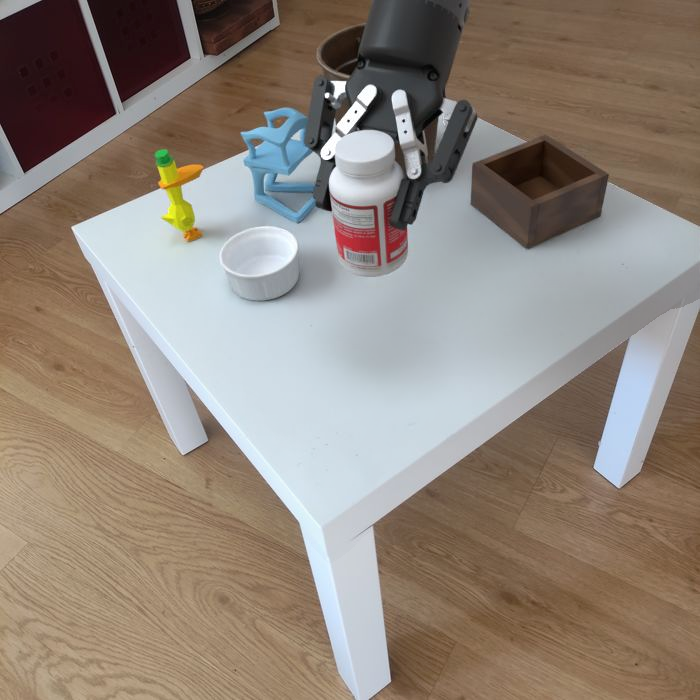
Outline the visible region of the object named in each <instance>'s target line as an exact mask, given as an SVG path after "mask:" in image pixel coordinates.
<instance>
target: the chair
mask: <svg viewBox="0 0 700 700" xmlns="http://www.w3.org/2000/svg"><path fill="white" fill-rule="evenodd" d="M263 114H264V117H265V119H266V121H267V126H259V127H256V128H254V129H251V130H249V131H241V132H240V136H241V137H242V140H243V141H244V143H245V144H246V146H247V149H248V155H246V156H245V158H244V159H243V164H244V167H247V168H248V169H249V170H250V172H251V175H252V182H253V192H254V201H257V202H258V203H259V202H260V203H261V204H263V205H265V206H266V207H268V208H269V209H271V210H274V211H275V212H277V213H278V214H280V215H281V216H283V217H285V218H286V219H288V220H290V221H292V222H294V223H301V222H302V221H303V220H304V219H305V217H307V216H308V215H309V213H310V212H311V211H312V210H313V209H314V208H315V207H316V204H315V202H316V200H315V199H313V196H312V197H311V198H310V199H309V200H308V201H307V202H306V203H305V204H304V205H303V206H302V207H301V208H300V210H298V211H297V212H295V211H293V210H292V209H290V208H289V207H287V206H286V205H284V204H283V203H282V202H280V201H279V200H277V199H275V198H274V197H272V196H271V195H269V194H267V193H265V191H269V192H282V193H283V192H286V193H289V192H290V193H291V192H292V193H293V192H296V193H297V192H298V193H300V192H302V193H303V192H306V193H307V192H308V193H309V192H311V193H313V189H314V186H315V182H287V181H286V182H285V181H284V182H283V181H276V180H277V178H278V175H284V176H287V177H289V176H290V175H292V173H294V171H296V169H297V168H298V167H299V165H300V164H301V163H302V162H303V161H304V160H305V159H306V158H308V157H309V156H310V155H312V153H314V152H313V151H312V150H311V149H309V148H308V147H306V146H305V144H304V139H305V133H306V127H307V121H308V116H306V115H304V114H303V113H301V112H300V111H299V110H297V109H295V108H291V107H281V108H278V109H274V110H271V111H264V112H263ZM281 117H284V118H285V117H286V118H287V119H286V121H285V122H284V123H283V124H282V125H281V126H280V127H277V128H275V124H274V120H275V119H278V118H281ZM298 132H300V134H299V135H300V136H299V139H293V138H292V137H294V135H296V134H297V133H298ZM251 140H262V141H263V142H261V143H260V145H259V146H257V147H255V145H254V143H253V142H252V141H251ZM266 175H267V176H266ZM265 176H266V178H265Z"/></svg>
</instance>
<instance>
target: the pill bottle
mask: <svg viewBox="0 0 700 700" xmlns="http://www.w3.org/2000/svg"><path fill="white" fill-rule="evenodd" d="M334 152H335V162H336V167H335V168H334V169H333V171H332V173H331V175H330V178H329V191H330V199H331V206H332V212H331V214H332V220H333V227H334V229H333V230H334V236H335V243H336V250H337V256H338V261H339V263H340V265H341V266H342V267H343V268H344V269H345V270H346V271H347V272H349V273H351V275H355V276H357V277H364V278H376V277H382V276H384V275H385V276H386V275H389V274H391V273H393V272H395V271H397V270H398V269H400V268H401V267H402V266H403V264H404V263H405V262H406V260H407V257H408V254H409V253H408V252H409V237H408V235H409V234H408V227H407V228H406V230H400V229H396V228H394V227H392V226H390V219H391V215H392V212H393V208H394V205H395V201H396V198H397V194H398V191H399V187H400V184H401V180H402V179H405V175H404V172H403V169H402V168H401V166H400V165H399V164H398V163H397V162H396V161H395V147H394V141H393V139H392V138H391V137H390V136H389V135H388V134H386V133H384V132H380V131H376V130H362V131H356V132H353V133H350V134H347V135H345V136H344V137H342V138H341V139H340V140H339V141H338V142H337V143H336V145H335V148H334Z"/></svg>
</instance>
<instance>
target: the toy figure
mask: <svg viewBox="0 0 700 700" xmlns="http://www.w3.org/2000/svg"><path fill="white" fill-rule="evenodd" d="M154 158H155V160H156V161H155V166H157V170H158V172H159V176H160V180H159V181H158V182H157V184H158V186H159V187H160V189H161V190H162V191H165V192H166V194H167V197H168V199H169V200H170V204H169V206H168V208H167V213H166V214H163V215H162V216H159V217H160V219H162V220H163V221H165V222H167V223H168V224H169V225H171V226H172V227H174V228H175V229H177V230H178V231H181V232H183V234H182V237H183V238H184V239H185V240H186V241H187V242H188V243H189V242H191V241H195V240H198V239H199V238H201V237H202V236H203V232H202V231H201V230H200V229H199V228H198V227H197V226H194V224H195V222H196V217H195V212H194V209H193V205H192V203H189V202H188V201H187V200H185V199H184V196H183V189H182V186H184V185H186V184H188V183H190V182H193V181H194V180H195V181H196V179H199V178H200V176H201V174H202V173H203V170H204V166H203V165H201V164H194V163H193V164H188V165H184V166H181V167H177V165H176V160H175V157H174V156H173V155H172V154H169V151H168V149H165V148H162V149H159V150H157V151H156V152H155V153H154Z"/></svg>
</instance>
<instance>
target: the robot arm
mask: <svg viewBox="0 0 700 700" xmlns="http://www.w3.org/2000/svg"><path fill="white" fill-rule="evenodd" d="M471 2H472V0H371V3H370V8H369V11H368V14H367V18H366V22H365V23H366V25H365V29H364V32H363V36H362V40H361V43H360V47H359V51H358V57H357V65H356V68H355V70H354V72H353V73H352V75H351V76H350V77H349V78H348V80H347V81H330V80H328V79H327V78H326V77H325V76H324V74H323V75H322V74H321V75H318V76H316V77H315V79H314V80H313V85H312V90H311V97H310V102H309V109H308V114H307V115H308V116H307V117H308V121H307V127H306V133H305V139H304V144H305V146H306V147H308V148H309V149H311V150H312V151H313V152H312V153H314V154H316V155H317V156H318V157H319V159H320V165H319V167H318V172H317V175H316V179H315V182H314V183H315V186H314V189H313V192H312V197H313V199H315V200H316V202H315V204H316V205H315V207H316V208H318V209H319V210H322V211H324V212H325V211H326V212H331V213H332V206H331V199H330V191H329V178H330V175H331V173H332V171H333V169H334V168H335V167H336V162H335V152H334V148H335V145H336V143H337V142H338V141H339V140H340V139H341V138H342V137H344V136H345V135H347V134H350V133H353V132H356V131H362V130H376V131H380V132H384V133H386V134H388V135H389V136H390V137H391V138H392V139H393V141H394V143H396V144H400V146H401V149H402V151H403V154H404V160H405V166H406V172H407V178H406V179H402V180H401V184H400V187H399V191H398V194H397V198H396V201H395V205H394V208H393V212H392V215H391V219H390V226H392V227H394V228H396V229H400V230H406V228H407V229H408V225H413V224H414V223H415V222H416V220H417V218H418V212H419V209H420V207H421V203H422V199H423V196H424V192H425V189H426V188H427V187H428V186H429V185H431V184H436V183H443V184H449V183H450V182H451V181H452V180H453V178H454V177H455V174H456V171H457V169H458V166H459V164H460V162H461V160H462V157H463V155H464V152H465V150H466V148H467V145H468V143H469V141H470V138H471V135H472V133H473V131H474V128H475V127H476V123H477V121H478V117H479V116H478V113H477V112H476V110H475V108H474V107H473V105H472V104H471V103H470V102H469V101H468V100H466V99H461V100H459V101H456V100H453V99H449V98H447V96H446V86H447V84H448V82H449V78H450V75H451V71H452V68H453V64H454V62H455V57H456V54H457V51H458V47H459V44H460V41H461V38H462V34H463V31H464V27H465V24H466V22H467V21H468V18H469V15H470V7H471ZM345 97H347V99H348V102H349V105H350V109H349V111H348V112H347V113H346V114H345V116H344V117H343V118H342V119H341V121H340V122H339V123H338V124H337V126H336V125H335V113H336V109H338V108H340V107H341V104H342V101H343V99H344V98H345ZM442 114H443V117H442V124H443V126H444V127H445V130H444V131H443V135H442V137H441V139H440V142H439V145H438V146H437V149H436V150H435V154H434V159H433V161H432V163H428V160H427V156H428V151H427V145H426V139H425V133H424V130H425V129H426V128H427V127H428V126H429V125H430V124H431V123H432V122H434V121H435V120H436V119H437V118H438V117H440V116H442ZM334 125H335V129H334ZM356 127H358V128H357V129H356V130H355V128H356ZM333 129H334V130H335V131H334V133H333Z"/></svg>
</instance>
